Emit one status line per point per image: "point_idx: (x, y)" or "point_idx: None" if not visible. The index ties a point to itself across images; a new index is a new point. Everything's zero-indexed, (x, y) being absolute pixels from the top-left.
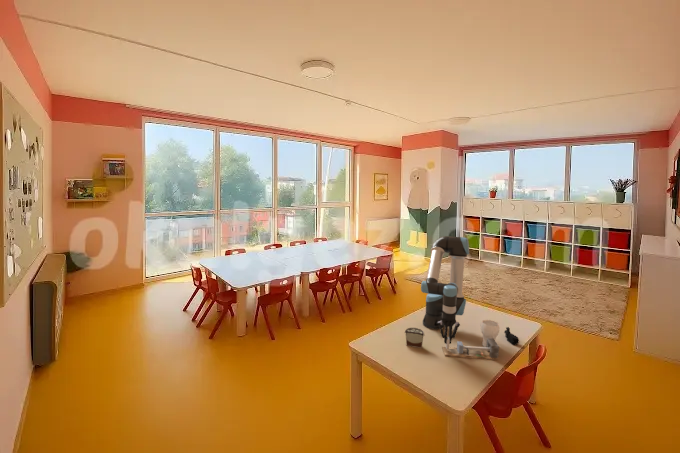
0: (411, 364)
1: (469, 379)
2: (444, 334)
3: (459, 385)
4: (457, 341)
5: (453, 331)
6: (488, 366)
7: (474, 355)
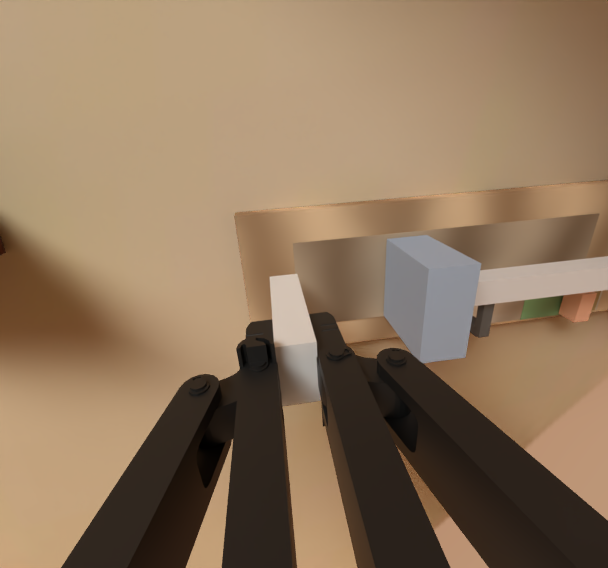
0: (5, 503)
1: None
2: (238, 402)
3: (310, 565)
4: (429, 274)
5: (446, 453)
6: (534, 390)
7: (505, 314)
